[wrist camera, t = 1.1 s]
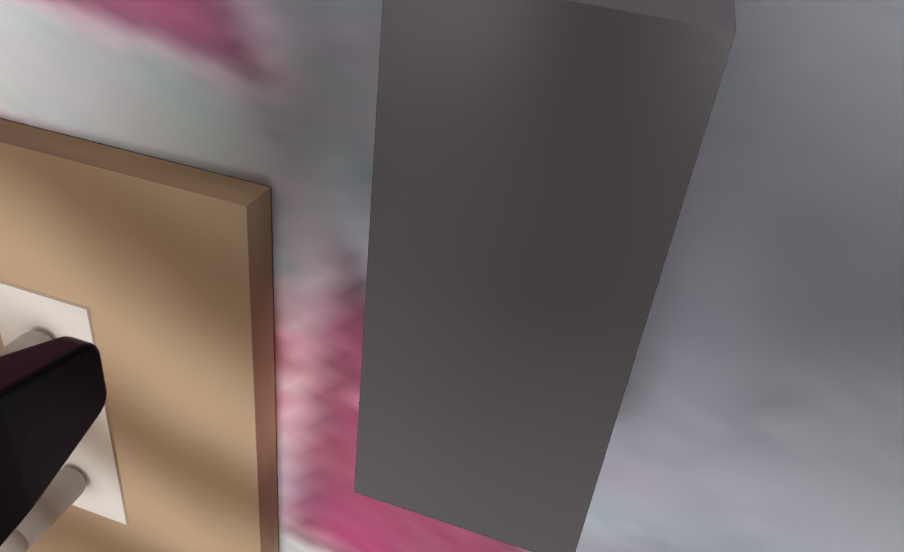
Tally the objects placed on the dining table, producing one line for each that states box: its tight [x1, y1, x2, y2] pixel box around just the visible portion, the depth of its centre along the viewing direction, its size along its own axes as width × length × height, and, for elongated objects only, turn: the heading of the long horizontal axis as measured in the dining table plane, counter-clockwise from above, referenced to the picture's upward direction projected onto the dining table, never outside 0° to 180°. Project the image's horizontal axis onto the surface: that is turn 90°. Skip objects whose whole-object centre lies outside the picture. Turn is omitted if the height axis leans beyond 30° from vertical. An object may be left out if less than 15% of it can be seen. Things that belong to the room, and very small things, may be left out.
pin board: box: [0, 119, 279, 552], centre depth 20 cm, size 16×12×4 cm
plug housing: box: [354, 0, 736, 552], centre depth 13 cm, size 9×4×4 cm, turn 174°
